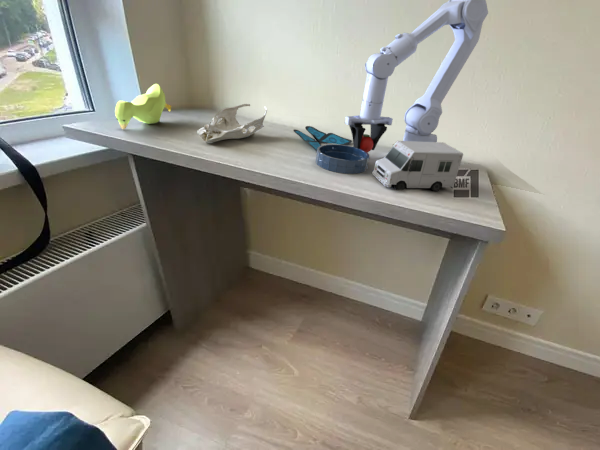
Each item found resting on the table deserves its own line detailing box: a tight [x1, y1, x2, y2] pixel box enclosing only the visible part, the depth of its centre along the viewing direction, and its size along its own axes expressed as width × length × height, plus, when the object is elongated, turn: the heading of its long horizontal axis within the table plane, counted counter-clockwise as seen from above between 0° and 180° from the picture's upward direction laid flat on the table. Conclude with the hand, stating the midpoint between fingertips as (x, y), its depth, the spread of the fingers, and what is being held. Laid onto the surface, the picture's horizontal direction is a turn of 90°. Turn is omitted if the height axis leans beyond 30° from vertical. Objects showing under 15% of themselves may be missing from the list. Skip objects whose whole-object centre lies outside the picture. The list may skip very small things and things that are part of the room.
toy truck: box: [371, 140, 464, 192], centre depth 92 cm, size 13×20×10 cm, turn 90°
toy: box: [114, 83, 172, 130], centre depth 117 cm, size 6×17×20 cm
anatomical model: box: [196, 103, 268, 144], centre depth 114 cm, size 15×9×25 cm
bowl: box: [315, 144, 370, 175], centre depth 101 cm, size 14×14×4 cm
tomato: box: [360, 133, 373, 153], centre depth 107 cm, size 5×5×5 cm
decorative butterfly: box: [293, 125, 353, 152], centre depth 117 cm, size 20×14×3 cm
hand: (363, 149), depth 108 cm, fingers closed on tomato, 5 cm apart
